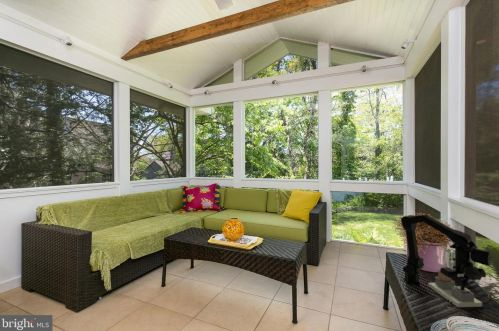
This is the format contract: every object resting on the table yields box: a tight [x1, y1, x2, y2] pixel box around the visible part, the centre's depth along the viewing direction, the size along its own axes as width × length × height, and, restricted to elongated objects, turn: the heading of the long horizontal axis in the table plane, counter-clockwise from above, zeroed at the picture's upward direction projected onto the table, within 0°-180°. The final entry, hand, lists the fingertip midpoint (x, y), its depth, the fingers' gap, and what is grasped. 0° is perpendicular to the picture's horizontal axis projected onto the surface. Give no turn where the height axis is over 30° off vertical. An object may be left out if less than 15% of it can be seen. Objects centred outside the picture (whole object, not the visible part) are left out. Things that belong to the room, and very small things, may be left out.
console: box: [427, 276, 483, 308], centre depth 125 cm, size 12×19×6 cm, turn 0°
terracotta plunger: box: [437, 269, 452, 282], centre depth 130 cm, size 4×4×5 cm
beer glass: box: [445, 249, 455, 270], centre depth 146 cm, size 7×7×15 cm
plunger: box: [455, 285, 471, 293], centre depth 120 cm, size 4×4×5 cm
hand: (462, 288), depth 119 cm, fingers closed, pressing on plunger
